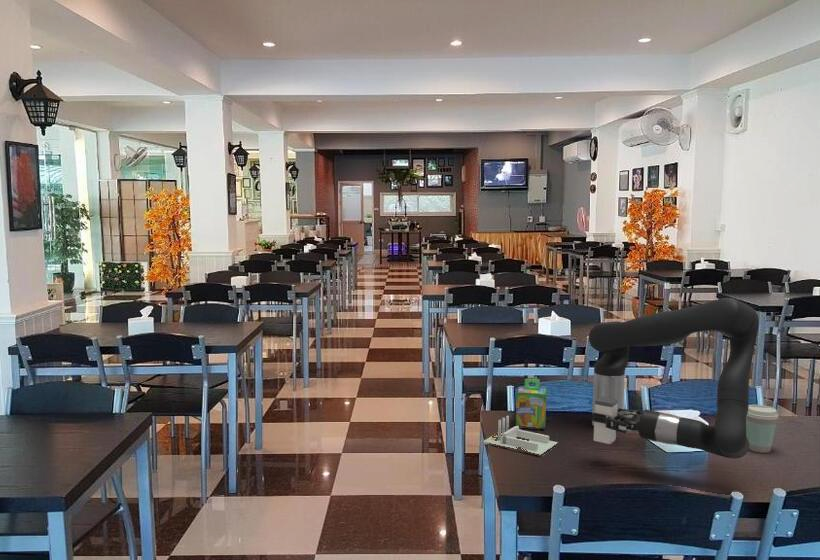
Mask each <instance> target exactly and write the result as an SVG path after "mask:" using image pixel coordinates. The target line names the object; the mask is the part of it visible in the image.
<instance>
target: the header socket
mask: <svg viewBox="0 0 820 560" xmlns="http://www.w3.org/2000/svg"><path fill="white" fill-rule="evenodd" d="M497 422H498V424H497V425H498V426H497V429H498V430H497V433H498V436H497V435H496V436H494V437H498V440H497V441H495V439H496V438H492V436H493V435H492V436H490V437H488V438H486V439H484V440H483V441H482V444H483V445H487V444H489V443H491V444H496V445H500V446H505V447H510V448H514V449H517V448H518V447H521V449H522V448H523V449H524V450H525V449H526V450H527V451H528V452H531V453H535V454H539V455H541V454H543V453H544V452H546V451H547V450H548V449H550V448H552V447H553V446H554V445H556V444H557V443H558V444H559V442H558V441H553V440H550V436H549V435H546V434H542V433H536V432H533V431H528V430H525V429H523V430H522V429H520V428H519V426H513V427H511V428H510V416H509V415H506V417H502V418H501V419H498V421H497ZM509 428H510V429H509ZM501 431H502V433H501ZM505 431H506V432H505ZM501 435H502V436H501ZM516 437H521V438H525V439H529V441H527V440H522V439H517V438H516ZM487 446H488V445H487ZM516 447H517V448H516ZM523 449H522V450H523ZM526 450H525V451H526Z"/></svg>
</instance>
